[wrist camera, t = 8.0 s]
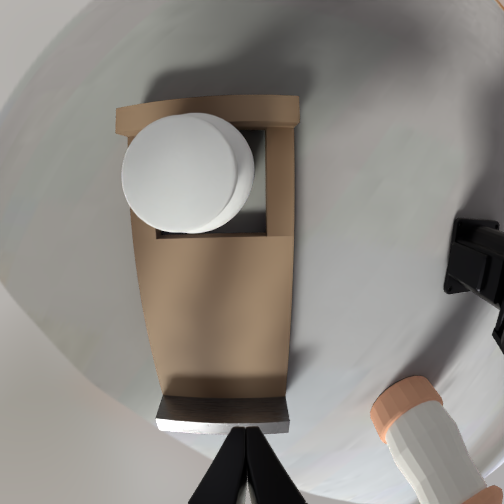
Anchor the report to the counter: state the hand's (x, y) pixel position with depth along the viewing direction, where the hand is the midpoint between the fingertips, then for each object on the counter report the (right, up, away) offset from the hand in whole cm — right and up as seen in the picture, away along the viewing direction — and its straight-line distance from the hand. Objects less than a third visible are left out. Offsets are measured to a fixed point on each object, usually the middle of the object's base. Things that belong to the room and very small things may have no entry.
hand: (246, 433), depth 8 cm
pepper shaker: (+16, -10, +16) cm, 25 cm away
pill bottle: (-2, +11, +10) cm, 15 cm away
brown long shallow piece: (-2, +4, +11) cm, 12 cm away
